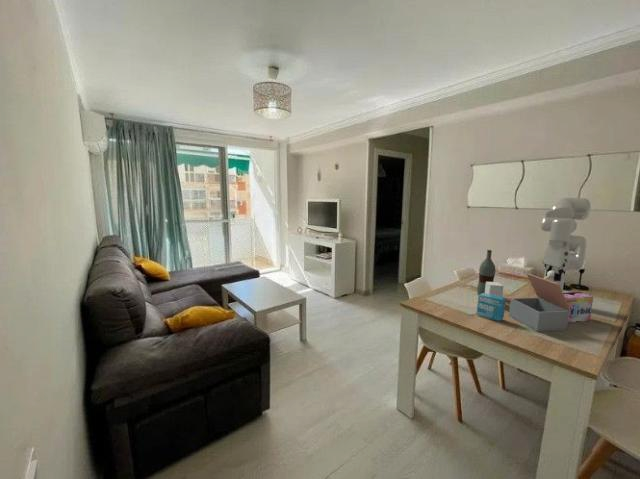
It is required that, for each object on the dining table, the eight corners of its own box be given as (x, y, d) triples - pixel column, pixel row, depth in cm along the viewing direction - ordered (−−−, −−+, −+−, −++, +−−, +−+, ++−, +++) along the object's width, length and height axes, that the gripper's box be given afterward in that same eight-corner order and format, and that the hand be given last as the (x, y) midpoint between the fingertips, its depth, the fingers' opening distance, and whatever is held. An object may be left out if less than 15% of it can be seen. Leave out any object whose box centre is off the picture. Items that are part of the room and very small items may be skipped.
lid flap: (537, 297, 156) (550, 289, 156) (570, 311, 138) (584, 302, 138) (525, 272, 153) (538, 264, 153) (557, 283, 135) (571, 274, 135)
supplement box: (501, 306, 169) (504, 286, 166) (487, 305, 170) (490, 285, 168) (496, 301, 176) (498, 282, 174) (483, 300, 177) (485, 281, 175)
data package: (476, 315, 156) (478, 294, 154) (478, 312, 159) (480, 292, 157) (501, 322, 148) (504, 300, 146) (503, 319, 151) (506, 298, 149)
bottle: (494, 298, 181) (499, 252, 176) (478, 296, 184) (483, 251, 179) (490, 293, 190) (495, 249, 185) (475, 291, 193) (480, 248, 188)
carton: (535, 314, 158) (537, 297, 156) (566, 330, 140) (569, 311, 138) (508, 315, 156) (511, 298, 154) (536, 331, 138) (539, 312, 137)
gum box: (576, 314, 158) (581, 291, 156) (592, 321, 151) (597, 296, 148) (539, 317, 155) (543, 293, 152) (553, 324, 147) (558, 299, 145)
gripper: (582, 247, 134) (575, 284, 137) (550, 241, 150) (545, 274, 153) (567, 247, 133) (561, 284, 136) (537, 241, 150) (532, 274, 152)
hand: (552, 279), depth 145 cm, fingers closed on lid flap, 4 cm apart
